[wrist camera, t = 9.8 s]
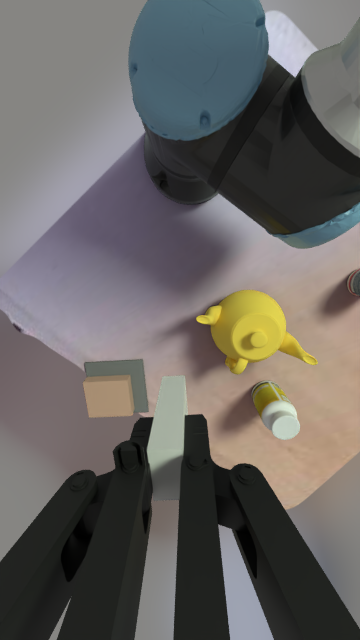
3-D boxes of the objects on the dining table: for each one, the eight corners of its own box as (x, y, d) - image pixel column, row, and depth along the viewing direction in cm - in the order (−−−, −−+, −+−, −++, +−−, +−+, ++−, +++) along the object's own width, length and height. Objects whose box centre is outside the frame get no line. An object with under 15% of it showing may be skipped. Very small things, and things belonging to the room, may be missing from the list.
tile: (130, 374, 52) (87, 376, 52) (127, 380, 49) (82, 382, 50) (134, 408, 54) (93, 410, 54) (132, 415, 51) (89, 417, 52)
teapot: (179, 341, 50) (177, 365, 39) (207, 270, 47) (214, 275, 36) (270, 375, 51) (293, 407, 40) (305, 308, 48) (340, 324, 37)
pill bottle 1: (249, 405, 53) (264, 442, 43) (252, 378, 52) (269, 410, 41) (278, 407, 53) (301, 445, 42) (282, 380, 52) (307, 413, 41)
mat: (85, 362, 52) (84, 363, 52) (142, 359, 51) (142, 360, 51) (94, 413, 55) (93, 414, 55) (148, 410, 54) (148, 411, 54)
